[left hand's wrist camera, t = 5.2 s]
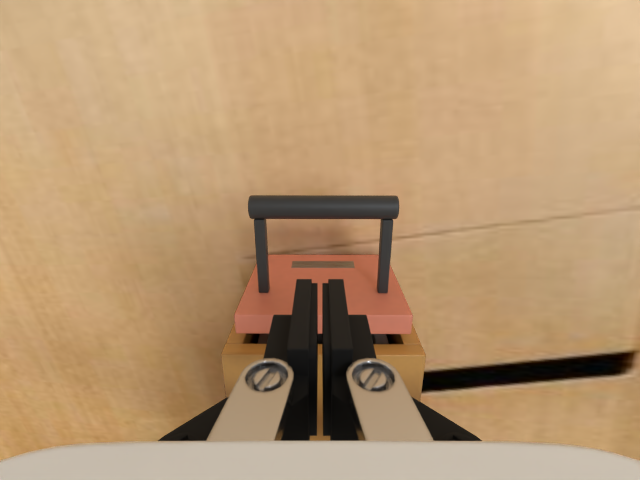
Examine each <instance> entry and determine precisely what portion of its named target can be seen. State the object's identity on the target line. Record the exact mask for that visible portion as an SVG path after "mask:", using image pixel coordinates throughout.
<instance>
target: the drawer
mask: <svg viewBox="0 0 640 480" xmlns="http://www.w3.org/2000/svg"><path fill="white" fill-rule="evenodd" d="M248 212H249V216H250V218H251V219H254V229H255V244H256V259H257V264H256V266H255V268H254V271H253V273H252V275H251V277H250V280H249V282H248V284H247V287H246V289H245V291H244V294H243V296H242V298H241V300H240V303H239V305H238V307H237V310H236V312H235V314H234V319H235V330H236V333H260V336H259V339H258V343H257V344H267V340H268V336H269V332H270V327H271V323H272V319H273V315H292V309H293V302H294V294H295V287H296V280H297V279H312V283H318V344H322V283H328V279H343V280H344V287H345V294H346V302H347V309H348V315H367V319H368V323H369V327H370V332H371V336H372V340H373V344H389V342H388V339H387V335H386V334H411V328H412V318H413V315H412V313H411V311H410V308H409V306H408V304H407V302H406V299H405V297H404V295H403V293H402V290H401V288H400V286H399V284H398V281H397V279H396V277H395V275H394V272H393V270H392V268H391V266H390V257H391V243H392V230H393V220H392V219H397V217H398V214H399V200H398V197H397V196H250V197H249V201H248ZM266 219H381V227H380V243H379V255H268V246H267V228H266Z"/></svg>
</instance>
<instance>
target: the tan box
mask: <svg viewBox="0 0 640 480" xmlns="http://www.w3.org/2000/svg"><path fill="white" fill-rule="evenodd" d="M386 335H387V339H388V342H389V344H373V345H374V349H375V353H376V358H377V359H380V360H383V361H385V362H388V363H390V364H391V365H392V366H394V367H395V368H396V370H397V371H398V372H399V374H400V376H401V378H402V380H403V382H404V384H405V386H406V388H407V389H408V391H409V393H410V395H411V397H413V398H415V399H416V400H418V401H419V402H420V398H421V390H422V382H423V374H424V366H425V358H426V355H425V353H424V350H423V348H422V346H421V343H420V341H419V338H418V336H417V334H416V331H415V329H414V327H413V324H412V328H411V334H386ZM259 336H260V333H236V330H235V323H234V325H233V328H232V330H231V332H230V335H229V337H228V340H227V342H226V344H225V347H224V349H223V351H222V354H221V359H222V367H223V376H224V385H225V393H226V398H227V397H229V395H230V393H231V391H232V389H233V388H234V386H235V384H236V382H237V380H238V378H239V376H240V374H241V372H242V371H243V370H244V368H245V367H246V366H248V365H249V364H250V363H252V362H255V361H257V360H260V359H263V358H264V353H265V349H266V345H267V344H257V343H258V339H259ZM310 441H330V436H323V382H322V344H318V382H317V436H310Z"/></svg>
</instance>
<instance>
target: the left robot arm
mask: <svg viewBox="0 0 640 480" xmlns="http://www.w3.org/2000/svg"><path fill="white" fill-rule="evenodd" d="M317 382H318V283H312V279H297V280H296V287H295V294H294V302H293V309H292V315H273V319H272V323H271V327H270V332H269V336H268V340H267V345H266V349H265V353H264V358H263V359H260V360H257V361H255V362H252V363H250V364H249V365H248V366H246V367H245V368H244V370H243V371H242V372H241V374H240V376H239V378H238V380H237V382H236V384H235V386H234V388H233V389H232V391H231V393H230V395H229V397H227V398H225V399H224V400H222V401H221V402H219V403H217V404H216V405H214V406H212V407H211V408H209V409H208V410H206V411H204V412H203V413H201V414H199V415H198V416H196V417H195V418H193V419H191V420H190V421H188V422H186V423H185V424H183V425H181V426H180V427H178V428H177V429H175V430H173V431H172V432H170V433H168V434H167V435H165V436H164V437H162V438H161V439H160V440H158V441H126V442H100V443H80V444H71V445H62V446H55V447H50V448H45V449H40V450H35V451H30V452H27V453H23V454H20V455H17V456H13V457H10V458H7V459H3V460H0V480H640V460H637V459H633V458H630V457H627V456H623V455H620V454H617V453H613V452H610V451H605V450H600V449H595V448H590V447H585V446H578V445H569V444H560V443H540V442H514V441H482V440H480V439H479V438H478V437H476V436H475V435H473V434H472V433H470V432H468V431H467V430H465V429H463V428H462V427H460V426H459V425H457V424H455V423H454V422H452V421H450V420H449V419H447V418H445V417H444V416H442V415H441V414H439V413H437V412H436V411H434V410H432V409H431V408H429V407H428V406H426V405H424V404H423V403H421V402H419V401H418V400H416V399H415V398H413V397H411V395H410V393H409V391H408V389H407V388H406V386H405V384H404V382H403V380H402V378H401V376H400V374H399V372H398V371H397V370H396V368H395V367H394V366H392V365H391V364H390V363H388V362H385V361H383V360H380V359H377V358H376V353H375V349H374V345H373V340H372V336H371V332H370V327H369V323H368V319H367V315H348V309H347V302H346V294H345V287H344V280H343V279H328V283H322V382H323V436H330V441H310V436H317Z"/></svg>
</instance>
